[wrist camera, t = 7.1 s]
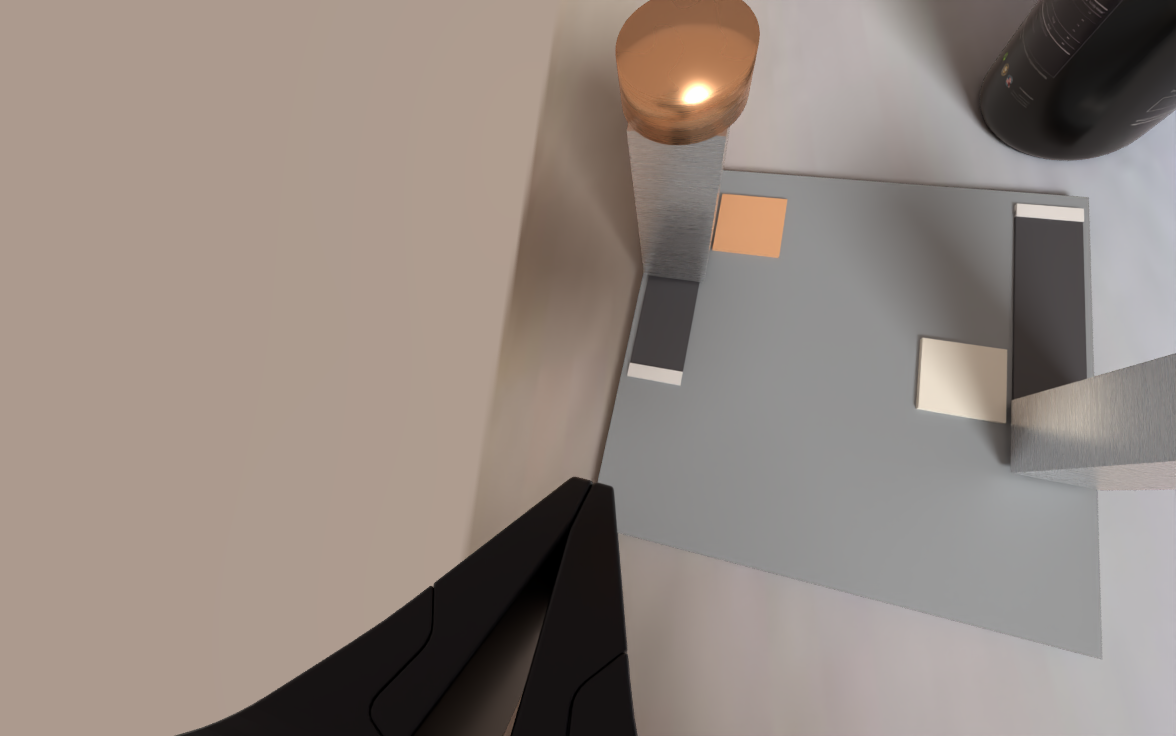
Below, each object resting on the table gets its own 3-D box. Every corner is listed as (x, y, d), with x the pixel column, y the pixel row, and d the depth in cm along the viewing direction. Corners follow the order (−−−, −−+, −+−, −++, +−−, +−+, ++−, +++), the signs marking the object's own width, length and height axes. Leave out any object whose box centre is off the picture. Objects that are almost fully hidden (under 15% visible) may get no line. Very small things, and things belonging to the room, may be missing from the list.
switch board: (1086, 653, 16) (1107, 661, 15) (590, 524, 20) (587, 525, 19) (1076, 205, 20) (1093, 194, 19) (666, 173, 24) (666, 163, 23)
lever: (711, 291, 21) (748, 100, 11) (634, 281, 22) (602, 95, 12) (723, 222, 22) (768, -14, 12) (648, 215, 23) (630, -12, 12)
